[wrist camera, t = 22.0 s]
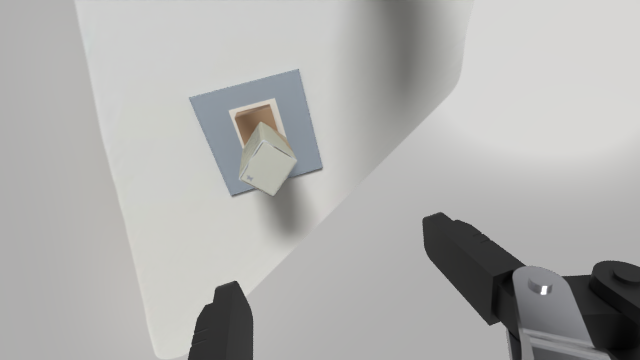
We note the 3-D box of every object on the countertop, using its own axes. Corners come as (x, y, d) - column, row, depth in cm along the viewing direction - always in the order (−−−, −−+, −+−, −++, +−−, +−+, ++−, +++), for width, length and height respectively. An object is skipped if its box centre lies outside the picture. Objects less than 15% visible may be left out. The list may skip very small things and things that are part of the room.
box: (267, 165, 39) (272, 200, 29) (241, 150, 37) (235, 181, 27) (287, 135, 38) (299, 160, 28) (260, 118, 36) (262, 139, 26)
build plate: (298, 69, 40) (298, 69, 39) (322, 166, 47) (322, 167, 46) (189, 97, 38) (188, 98, 37) (231, 193, 45) (230, 195, 44)
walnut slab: (269, 103, 40) (271, 108, 36) (285, 158, 44) (289, 168, 40) (236, 112, 40) (234, 117, 35) (256, 167, 43) (256, 177, 39)
